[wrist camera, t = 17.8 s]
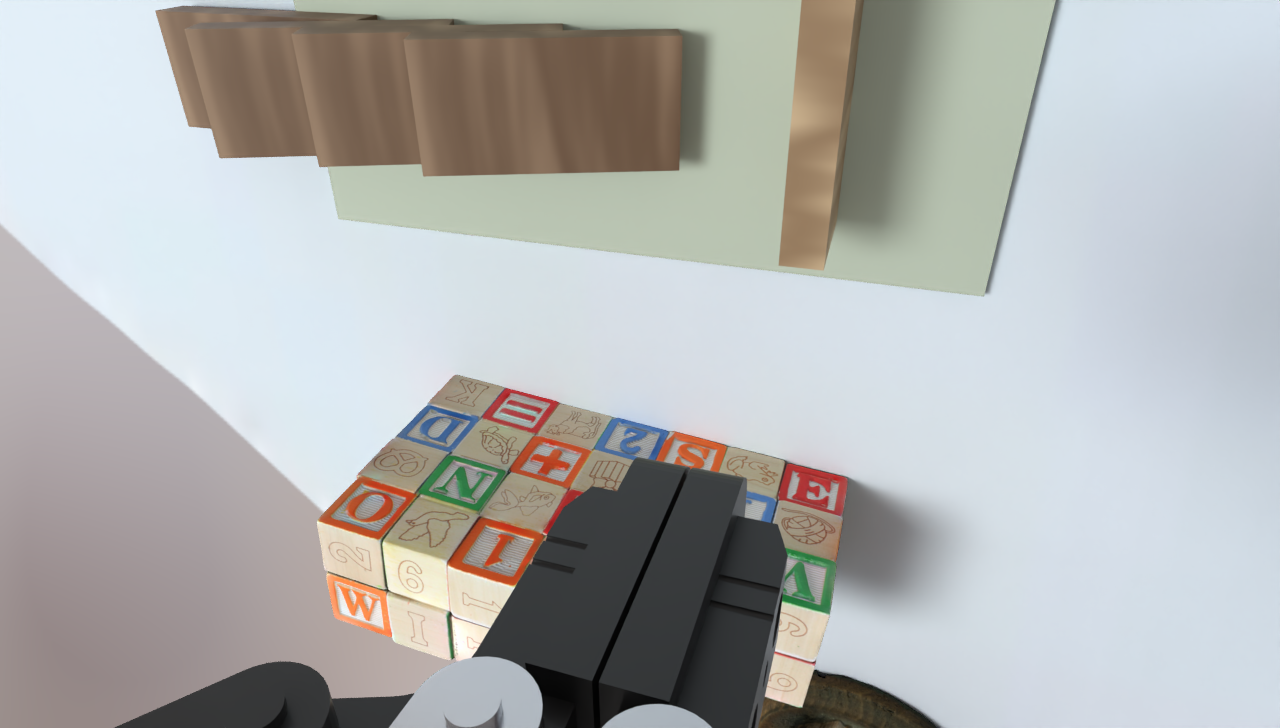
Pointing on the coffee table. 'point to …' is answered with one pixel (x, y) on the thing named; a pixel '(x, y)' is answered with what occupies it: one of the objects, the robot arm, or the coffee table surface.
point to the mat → (763, 141)
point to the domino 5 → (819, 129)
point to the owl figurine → (841, 708)
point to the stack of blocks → (541, 518)
